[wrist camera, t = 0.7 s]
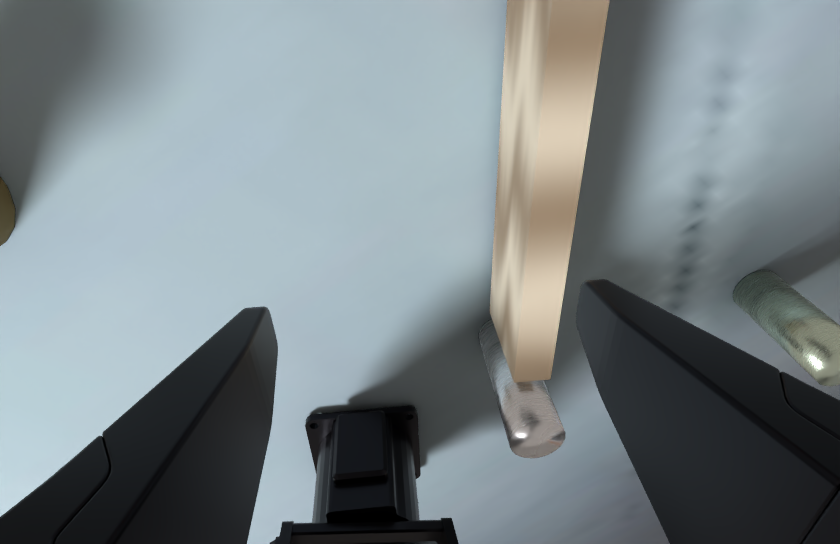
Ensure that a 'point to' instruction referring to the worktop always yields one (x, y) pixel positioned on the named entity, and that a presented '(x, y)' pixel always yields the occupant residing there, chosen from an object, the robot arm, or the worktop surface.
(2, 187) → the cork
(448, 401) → the worktop surface
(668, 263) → the worktop surface
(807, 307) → the gate posts
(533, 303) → the light brown wooden plank
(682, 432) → the robot arm
